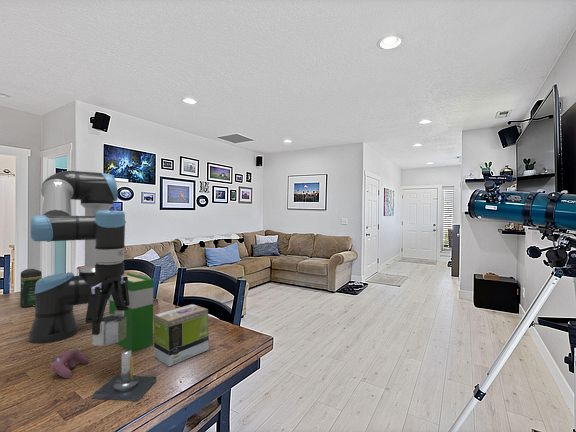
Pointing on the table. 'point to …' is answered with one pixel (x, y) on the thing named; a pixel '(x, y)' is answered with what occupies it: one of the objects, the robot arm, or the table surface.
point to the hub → (113, 328)
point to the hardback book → (137, 313)
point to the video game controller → (68, 362)
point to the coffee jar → (29, 286)
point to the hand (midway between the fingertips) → (109, 337)
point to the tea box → (180, 333)
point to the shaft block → (125, 383)
